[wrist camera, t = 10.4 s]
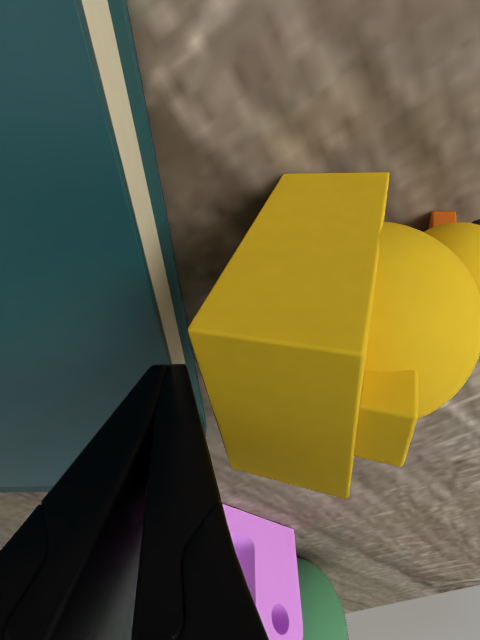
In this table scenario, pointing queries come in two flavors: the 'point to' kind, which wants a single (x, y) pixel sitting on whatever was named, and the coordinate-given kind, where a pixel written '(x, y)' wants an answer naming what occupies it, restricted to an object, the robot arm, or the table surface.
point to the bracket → (269, 571)
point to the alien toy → (319, 605)
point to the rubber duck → (336, 330)
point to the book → (77, 236)
